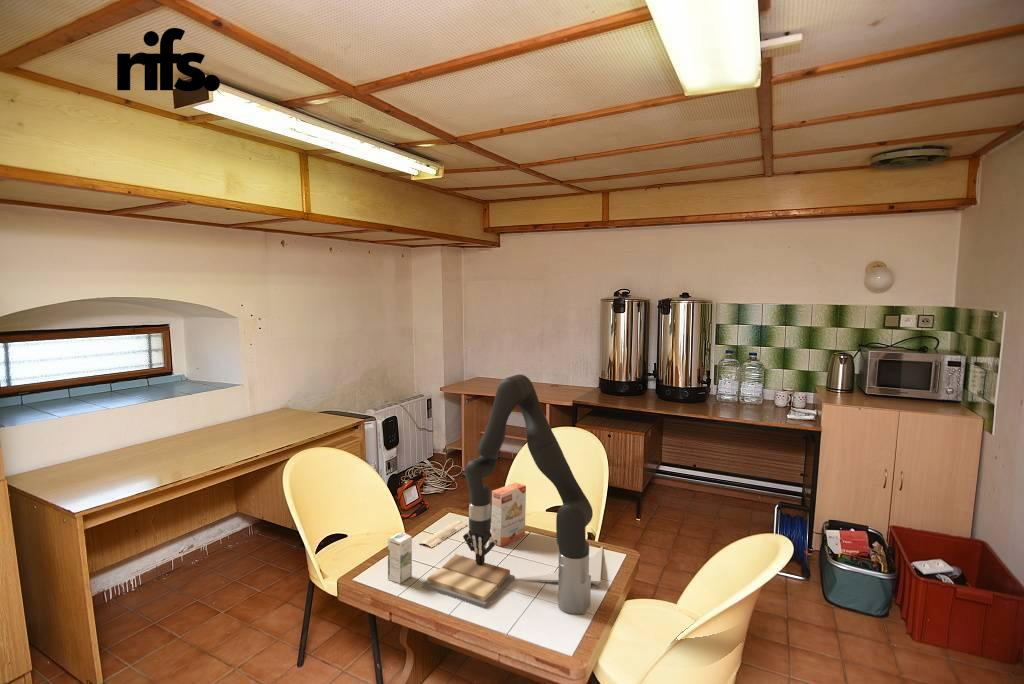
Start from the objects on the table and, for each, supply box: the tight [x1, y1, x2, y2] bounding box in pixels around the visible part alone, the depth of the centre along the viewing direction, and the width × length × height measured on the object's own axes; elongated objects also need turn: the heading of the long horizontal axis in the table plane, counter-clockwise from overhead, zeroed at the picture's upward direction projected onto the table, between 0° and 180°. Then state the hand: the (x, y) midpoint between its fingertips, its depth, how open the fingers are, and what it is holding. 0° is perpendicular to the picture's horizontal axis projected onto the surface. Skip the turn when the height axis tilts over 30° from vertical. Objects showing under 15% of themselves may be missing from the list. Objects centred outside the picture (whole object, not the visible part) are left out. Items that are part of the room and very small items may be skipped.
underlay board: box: [422, 574, 516, 609], centre depth 171 cm, size 24×19×1 cm
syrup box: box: [387, 532, 413, 585], centre depth 173 cm, size 6×6×14 cm
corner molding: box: [513, 546, 604, 586], centre depth 185 cm, size 30×2×30 cm
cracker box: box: [490, 482, 527, 548], centre depth 202 cm, size 14×6×21 cm, turn 136°
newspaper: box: [418, 520, 468, 549], centre depth 206 cm, size 24×7×2 cm, turn 149°
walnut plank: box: [441, 553, 511, 588], centre depth 174 cm, size 22×8×2 cm, turn 61°
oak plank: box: [426, 566, 497, 601], centre depth 167 cm, size 22×8×2 cm, turn 61°
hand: (480, 563), depth 177 cm, fingers closed
